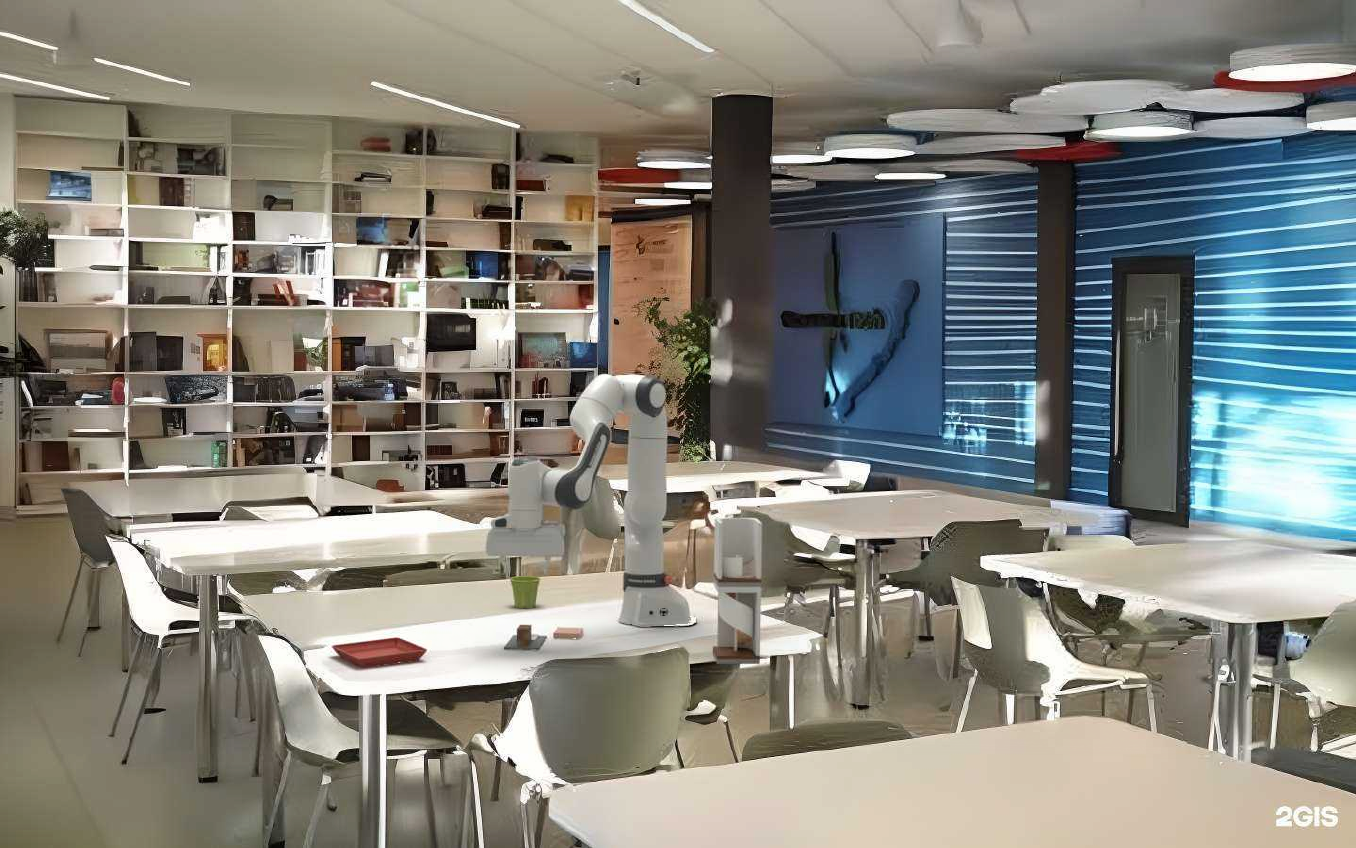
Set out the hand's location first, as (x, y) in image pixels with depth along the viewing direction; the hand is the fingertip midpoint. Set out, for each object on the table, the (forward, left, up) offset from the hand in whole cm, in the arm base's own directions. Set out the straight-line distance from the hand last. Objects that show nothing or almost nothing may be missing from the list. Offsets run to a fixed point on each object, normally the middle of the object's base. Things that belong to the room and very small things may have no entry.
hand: (525, 573), depth 358 cm
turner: (0, -3, -18) cm, 19 cm away
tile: (-10, -10, -19) cm, 23 cm away
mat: (0, -3, -19) cm, 19 cm away
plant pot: (+8, -57, -19) cm, 61 cm away
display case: (-55, +11, -19) cm, 59 cm away
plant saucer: (+33, +19, -20) cm, 43 cm away
